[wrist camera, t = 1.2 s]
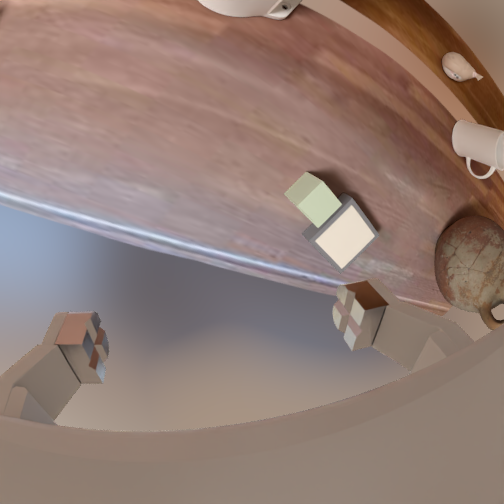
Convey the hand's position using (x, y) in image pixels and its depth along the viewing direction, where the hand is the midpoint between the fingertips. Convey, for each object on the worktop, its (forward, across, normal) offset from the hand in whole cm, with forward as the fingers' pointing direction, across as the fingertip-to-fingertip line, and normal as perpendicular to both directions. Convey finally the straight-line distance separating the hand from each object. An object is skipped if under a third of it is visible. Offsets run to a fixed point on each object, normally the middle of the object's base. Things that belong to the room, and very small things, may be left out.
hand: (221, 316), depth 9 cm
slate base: (+34, -24, +13) cm, 43 cm away
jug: (+34, -57, +19) cm, 69 cm away
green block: (+34, -17, +6) cm, 38 cm away
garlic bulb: (+33, -48, -22) cm, 62 cm away
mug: (+34, -54, -6) cm, 64 cm away
